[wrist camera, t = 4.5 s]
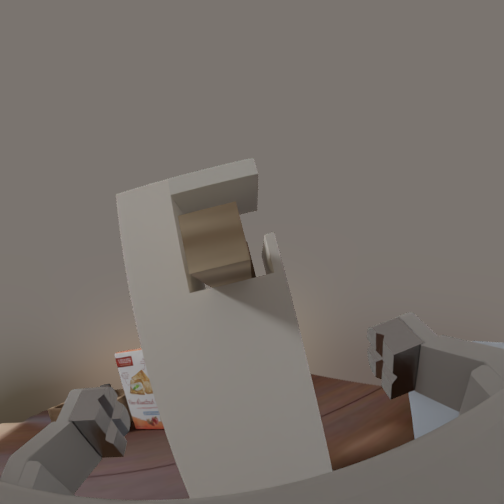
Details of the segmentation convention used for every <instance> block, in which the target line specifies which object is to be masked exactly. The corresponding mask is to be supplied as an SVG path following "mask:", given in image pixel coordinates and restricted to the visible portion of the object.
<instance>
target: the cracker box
mask: <svg viewBox="0 0 504 504" xmlns="http://www.w3.org/2000/svg"><path fill="white" fill-rule="evenodd" d="M115 358H116V362H117V366H118V370H119V374H120V378H121V382H122V385H123V389H124V392H125V396H126V399H127V403H128V406H129V409H130V412H131V415H132V419H133V422H134V425H135V428H136V429H164V426H163V423H162V420H161V417H160V414H159V411H158V407H157V404H156V401H155V397H154V394H153V390H152V387H151V383H150V380H149V376H148V372H147V368H146V365H145V361H144V357H143V353H142V348H138V349H133V350H127V351H121V352H117V353H115Z"/></svg>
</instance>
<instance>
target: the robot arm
mask: <svg viewBox="0 0 504 504" xmlns="http://www.w3.org/2000/svg"><path fill="white" fill-rule="evenodd" d="M367 339H368V340H369V342H370V343H371V345H370V347H369V348H368V360H369V365H370V368H371V370H372V372H373V373H374V375H375V377H377V378H380V379H382V387H383V389H384V390H385V392H386V393H387V395H388V397H389V398H390V400H391V399H393V398H396V397H399V396H401V395H404V394H406V393H409V392H411V391H413V390H415V391H416V392H418V393H420V394H422V395H424V396H426V397H428V398H430V399H432V400H434V401H437V402H439V403H441V404H443V405H445V406H447V407H449V408H452V409H454V410H456V411H458V412H459V415H458V417H457V418H455V419H453V420H451V421H450V422H448V423H446V424H444V425H442V426H440V427H438V428H436V429H435V430H433V431H431V432H429V433H427V434H425V435H423V436H420V437H418V438H416V439H414V440H412V441H410V442H408V443H406V444H403V445H401V446H399V447H396V448H394V449H392V450H389V451H387V452H385V453H382V454H380V455H377V456H375V457H372V458H369V459H367V460H364V461H361V462H359V463H356V464H353V465H350V466H347V467H344V468H341V469H338V470H335V471H332V472H329V473H325V474H322V475H319V476H315V477H311V478H308V479H304V480H300V481H296V482H292V483H288V484H284V485H279V486H275V487H270V488H265V489H260V490H254V491H248V492H242V493H236V494H229V495H221V496H212V497H203V498H191V499H174V500H117V499H101V498H89V497H80V496H75V495H74V493H75V492H76V491H77V490H78V488H79V487H80V486H81V485H82V483H83V482H84V481H85V480H86V478H87V477H88V476H89V475H90V473H91V472H92V471H93V470H94V468H95V467H96V466H97V465H98V463H99V462H100V461H101V459H102V458H101V457H124V452H125V448H126V443H127V441H126V439H125V438H124V436H125V435H126V434H127V433H128V432H129V429H130V416H129V414H128V411H127V409H126V407H125V406H124V405H123V404H122V403H120V402H118V401H117V397H118V395H117V393H116V392H115V390H114V389H113V388H112V387H109V386H108V387H98V388H85V389H73V390H72V391H70V393H69V395H68V397H67V399H66V401H65V403H64V405H63V407H62V410H61V412H60V414H59V416H58V418H57V420H56V422H52V423H50V424H49V425H48V426H47V427H45V428H44V429H43V430H42V431H41V432H39V433H38V434H37V435H36V436H34V437H33V438H32V439H31V440H29V441H28V442H27V443H26V444H25V445H23V446H22V447H21V448H20V449H18V450H17V451H16V452H15V453H13V454H12V455H11V456H10V457H9V459H8V462H7V464H6V466H5V468H4V471H3V473H2V475H1V478H0V504H504V349H502V348H498V347H493V346H489V345H484V344H480V343H475V342H471V341H466V340H462V339H458V338H454V337H449V336H445V335H442V336H438V335H437V334H436V333H435V332H434V331H432V330H431V329H430V328H429V327H428V326H427V325H426V324H425V323H424V322H423V321H422V320H421V319H419V318H418V317H417V316H416V315H415V314H414V313H412V312H408V313H406V314H403V315H401V316H398V317H396V318H394V319H392V320H389V321H386V322H383V323H380V324H378V325H375V326H372V327H369V328H368V331H367Z"/></svg>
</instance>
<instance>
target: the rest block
mask: <svg viewBox="0 0 504 504" xmlns="http://www.w3.org/2000/svg"><path fill="white" fill-rule="evenodd" d="M472 342H475V343H480V344H484V345H489V346H493V347H498V348H502V349H504V343H500V342H483V341H472ZM409 399H410V406H411V413H412V421H413V429H414V438H415V439H416V438H418V437H420V436H423V435H425V434H427V433H429V432H431V431H433V430H435V429H436V428H438V427H440V426H442V425H444V424H446V423H448V422H450V421H451V420H453V419H455V418H457V417H458V415H459V412H458V411H456V410H454V409H452V408H449V407H447V406H445V405H443V404H441V403H439V402H437V401H434V400H432V399H430V398H428V397H426V396H424V395H422V394H420V393H418V392H416V391H415V390H413V391H411V392H409Z"/></svg>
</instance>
